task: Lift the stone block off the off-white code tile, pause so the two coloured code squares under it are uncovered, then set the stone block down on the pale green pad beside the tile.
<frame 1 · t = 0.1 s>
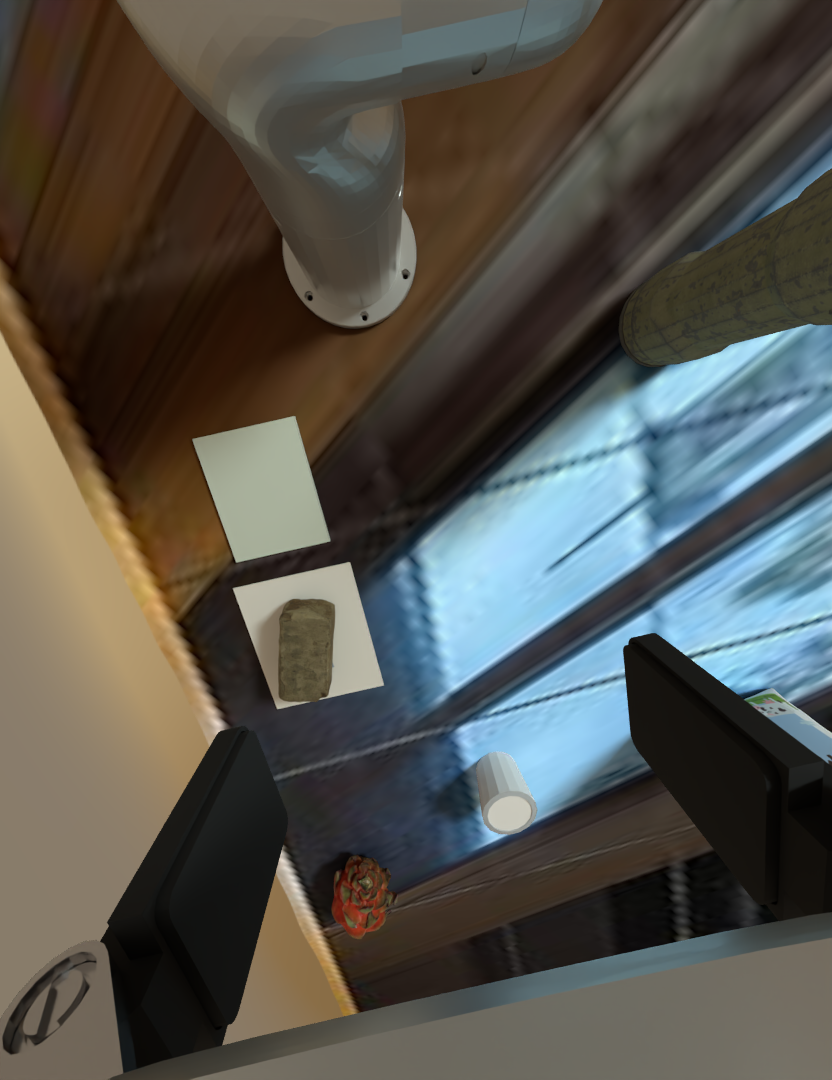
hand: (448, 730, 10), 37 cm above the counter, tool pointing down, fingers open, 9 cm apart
dragon fruit: (365, 867, 60), on the counter
olive stone pillar: (657, 324, 42), on the counter
pale green pad: (265, 492, 44), on the counter
stone block: (312, 638, 49), resting on code tile
code tile: (312, 638, 49), on the counter
pouch: (703, 708, 56), on the counter
white cylinder: (495, 766, 56), on the counter
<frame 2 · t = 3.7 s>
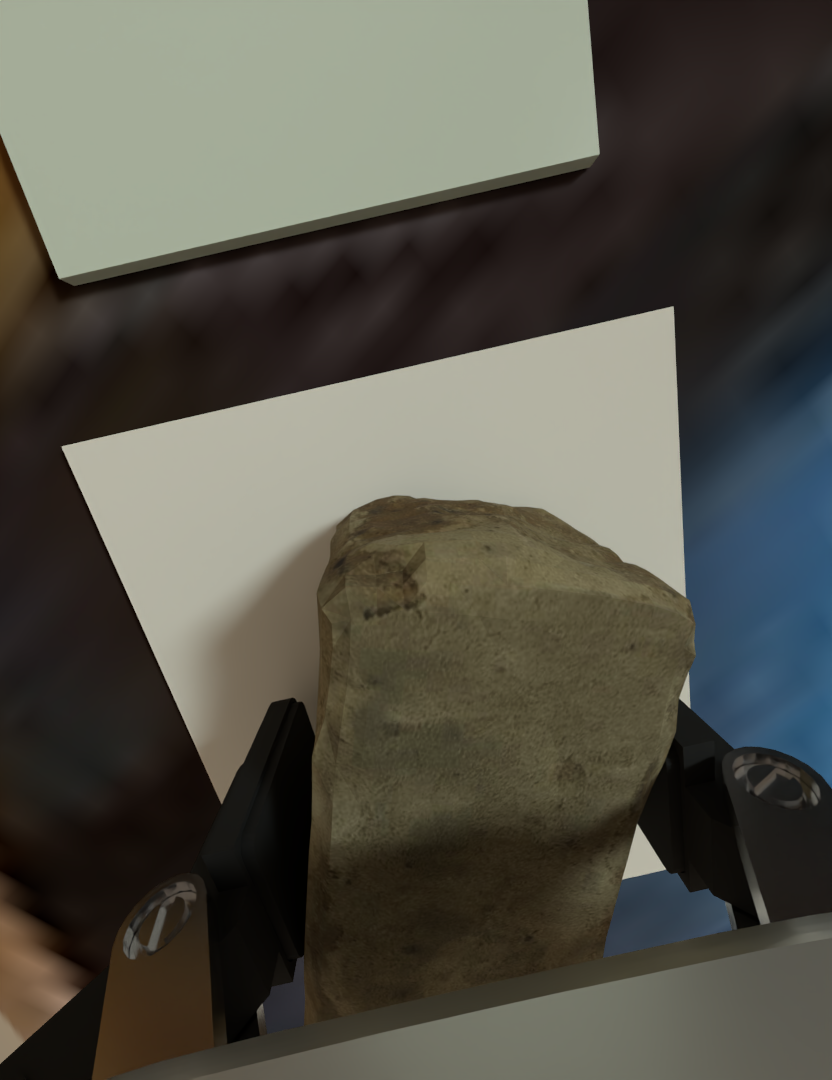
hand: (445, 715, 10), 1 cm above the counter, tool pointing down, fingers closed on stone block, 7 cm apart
stone block: (441, 692, 11), resting on code tile, touching gripper
code tile: (441, 691, 11), on the counter
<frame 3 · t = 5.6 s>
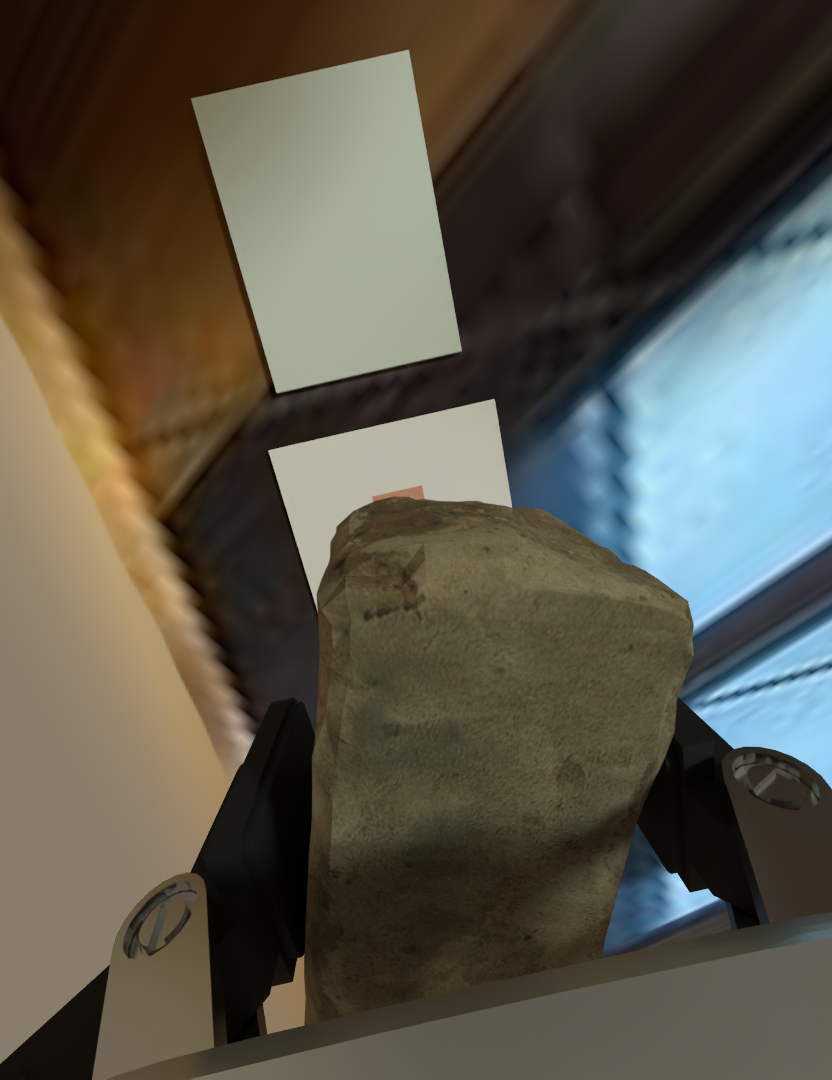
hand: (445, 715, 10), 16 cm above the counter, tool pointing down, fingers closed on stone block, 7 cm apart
pale green pad: (338, 238, 22), on the counter
stone block: (441, 692, 11), point 15 cm above the counter, touching gripper
code tile: (412, 555, 26), on the counter
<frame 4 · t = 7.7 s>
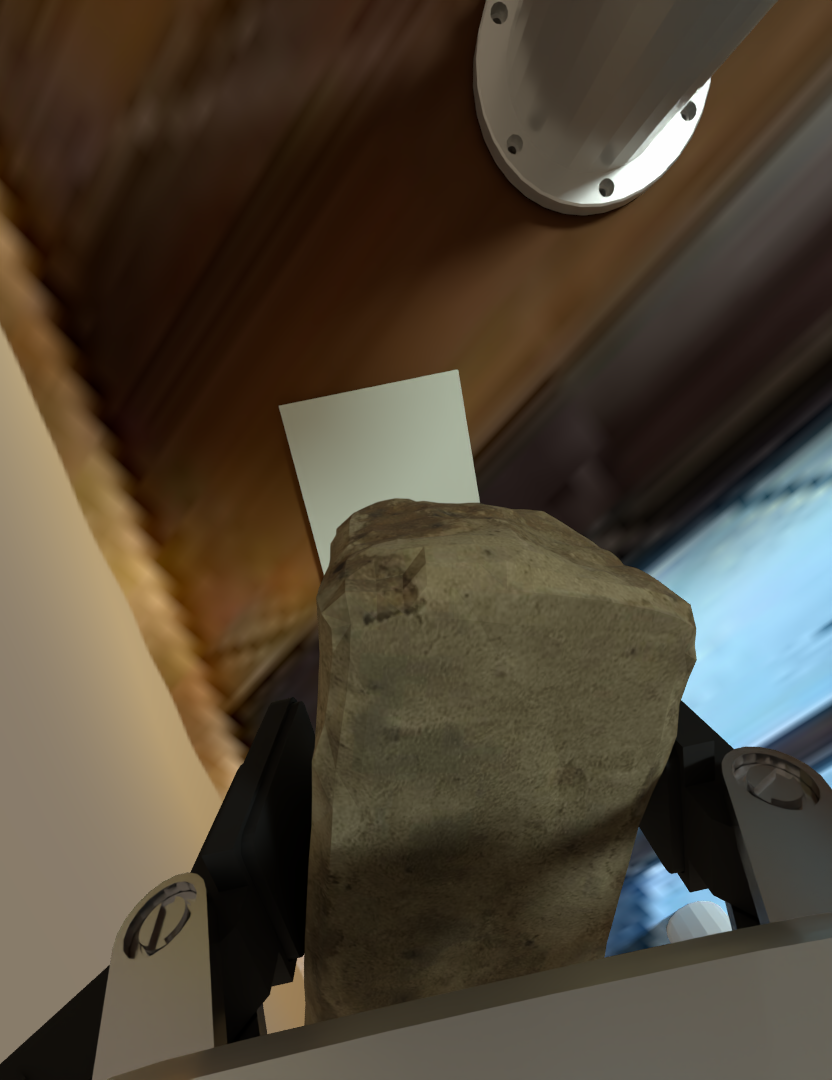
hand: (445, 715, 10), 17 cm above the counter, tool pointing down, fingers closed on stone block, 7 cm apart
pale green pad: (393, 500, 26), on the counter
stone block: (441, 694, 11), point 16 cm above the counter, touching gripper
white cylinder: (694, 921, 37), on the counter
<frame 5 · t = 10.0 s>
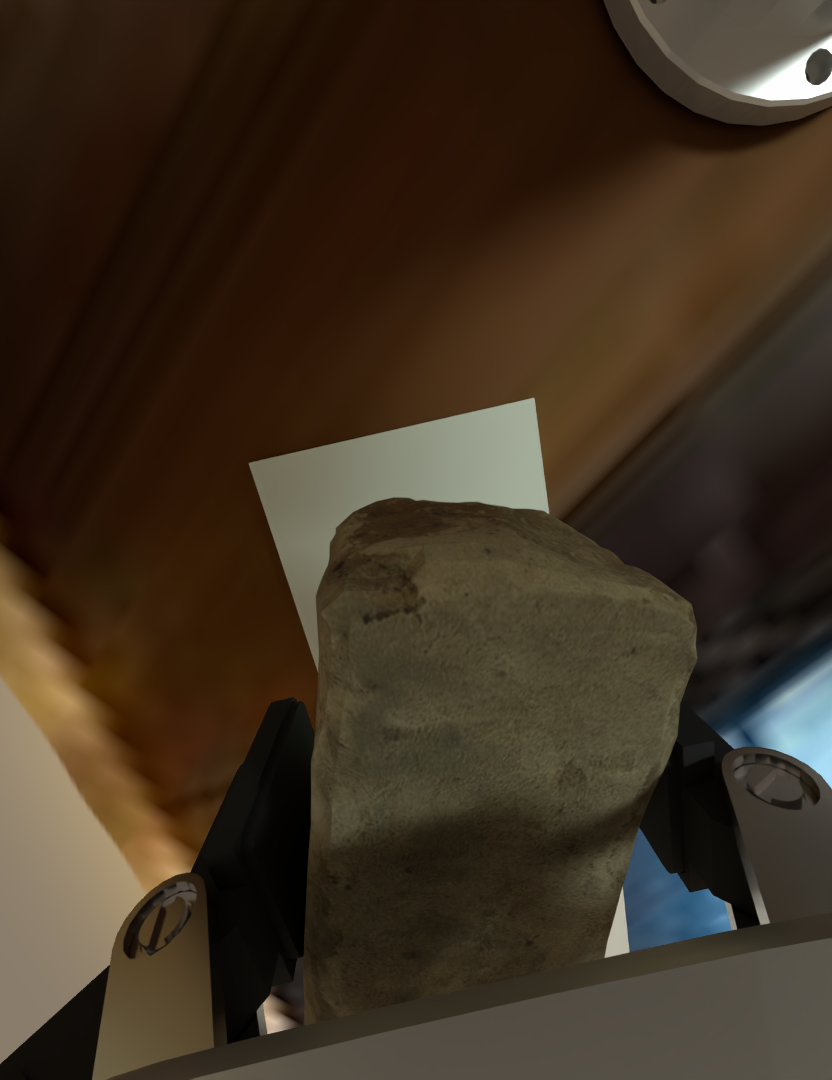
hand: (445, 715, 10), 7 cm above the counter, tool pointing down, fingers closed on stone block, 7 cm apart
pale green pad: (428, 594, 17), on the counter
stone block: (441, 694, 11), point 6 cm above the counter, touching gripper
code tile: (496, 891, 22), on the counter
when the fingers open (3 cm above the counter, at t = 11.9 s): stone block drops 2 cm, resting on pale green pad.
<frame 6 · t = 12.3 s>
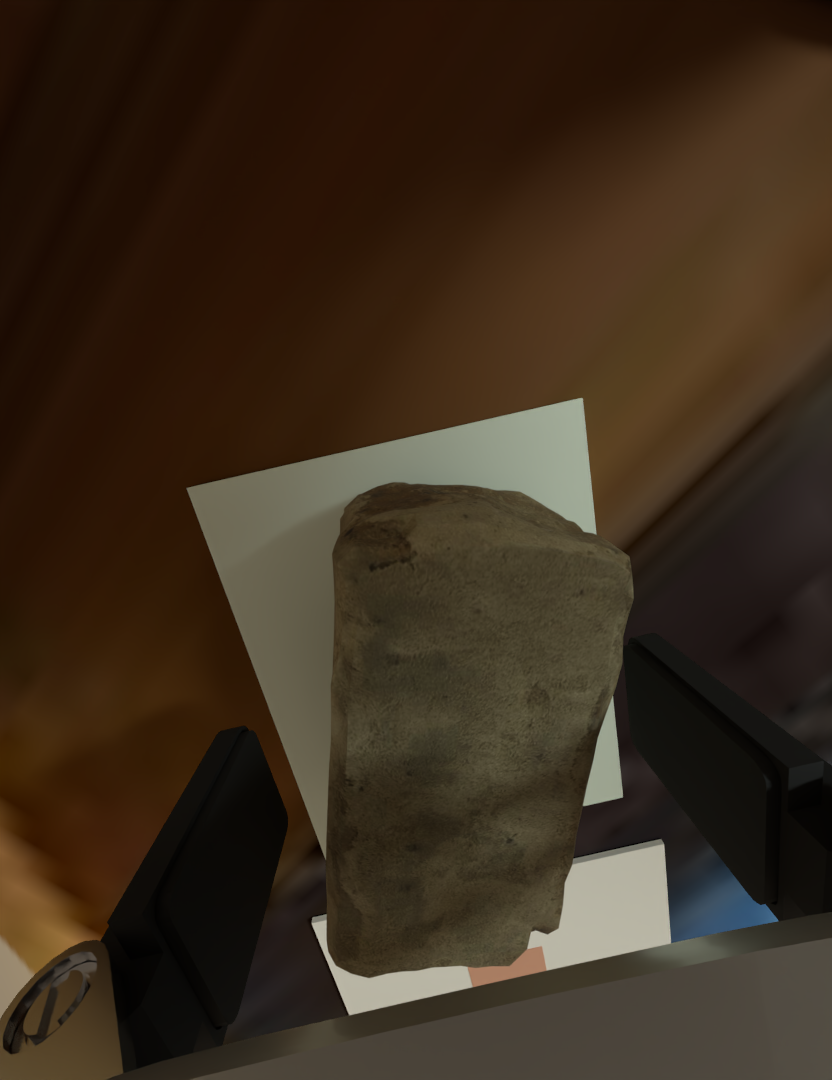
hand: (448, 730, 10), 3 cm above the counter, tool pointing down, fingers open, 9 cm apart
pale green pad: (434, 658, 13), on the counter
stone block: (438, 657, 13), resting on pale green pad
code tile: (518, 1014, 18), on the counter
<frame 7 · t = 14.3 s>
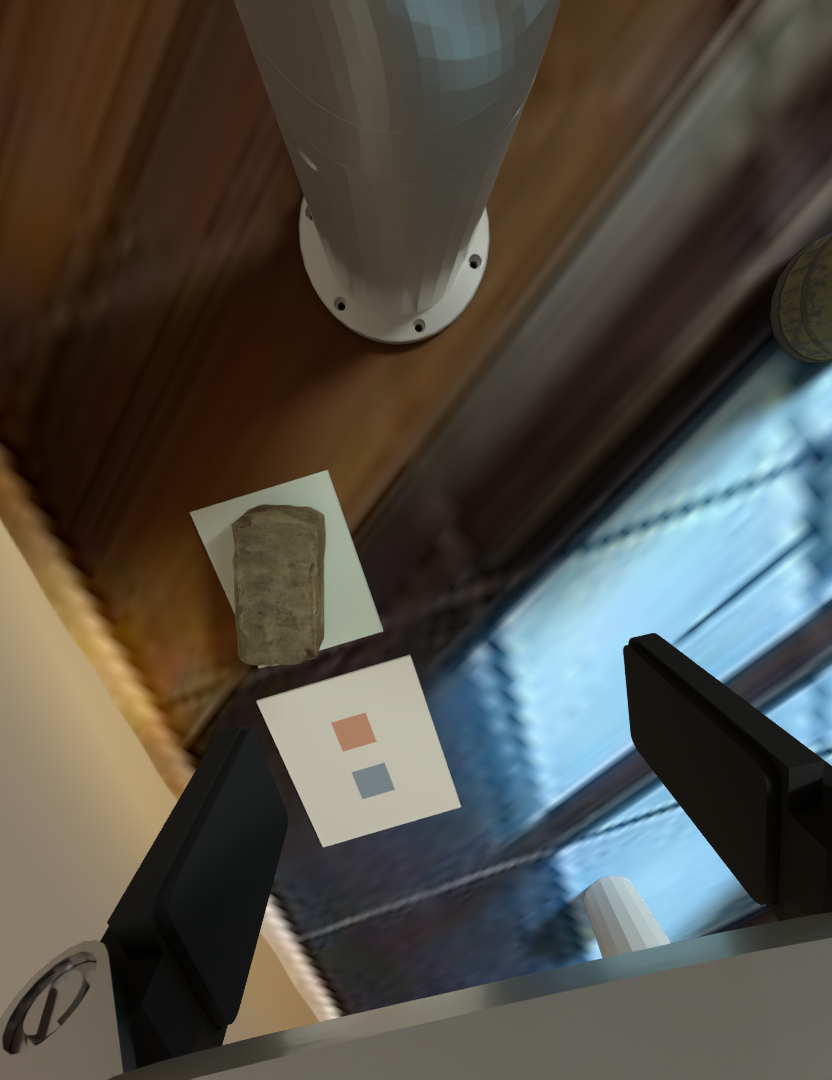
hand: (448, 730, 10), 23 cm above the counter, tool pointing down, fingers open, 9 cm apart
olive stone pillar: (823, 303, 30), on the counter
pale green pad: (292, 573, 32), on the counter
stone block: (292, 572, 32), resting on pale green pad
code tile: (364, 755, 37), on the counter
white cylinder: (608, 894, 43), on the counter
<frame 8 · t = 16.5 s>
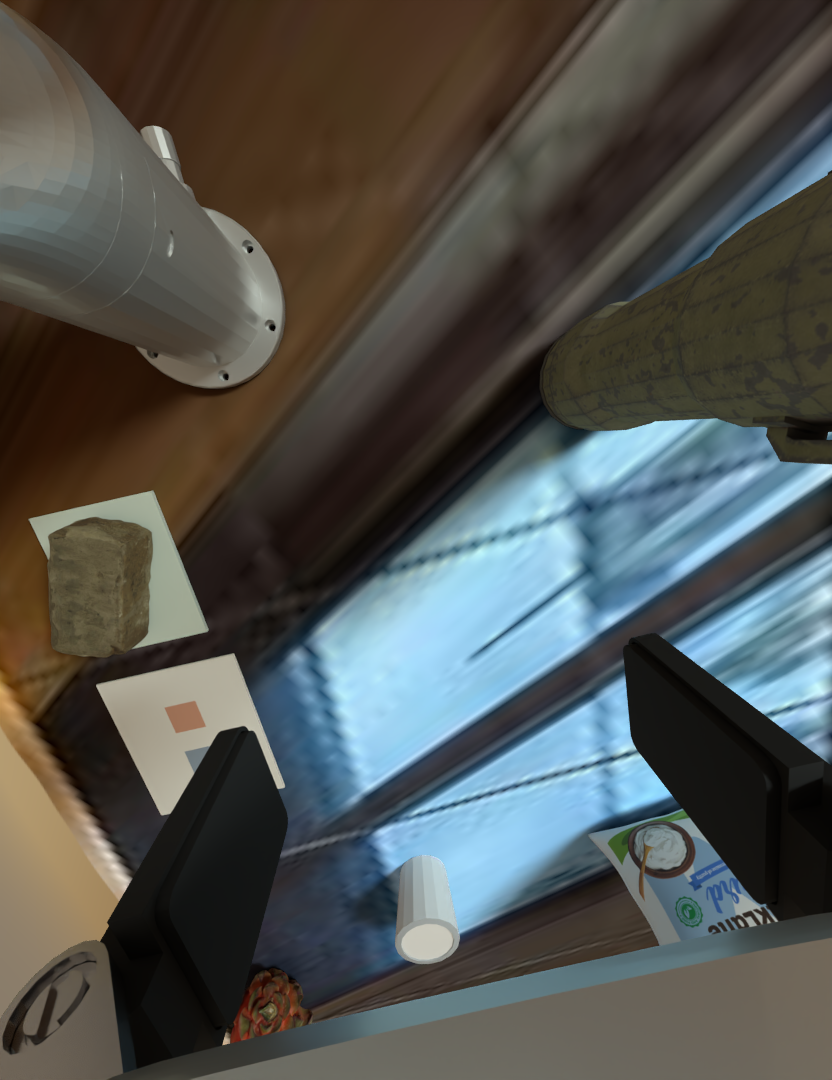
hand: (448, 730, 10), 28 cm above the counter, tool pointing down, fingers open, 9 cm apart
dragon fruit: (279, 979, 52), on the counter
olive stone pillar: (586, 379, 35), on the counter
pale green pad: (124, 576, 37), on the counter
stone block: (123, 576, 37), resting on pale green pad
code tile: (196, 737, 42), on the counter
pouch: (660, 804, 48), on the counter
white cylinder: (422, 870, 49), on the counter
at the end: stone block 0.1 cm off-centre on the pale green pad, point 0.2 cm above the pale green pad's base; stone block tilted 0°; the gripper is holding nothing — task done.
